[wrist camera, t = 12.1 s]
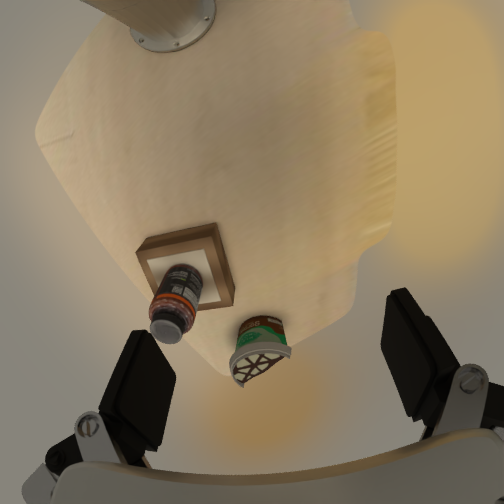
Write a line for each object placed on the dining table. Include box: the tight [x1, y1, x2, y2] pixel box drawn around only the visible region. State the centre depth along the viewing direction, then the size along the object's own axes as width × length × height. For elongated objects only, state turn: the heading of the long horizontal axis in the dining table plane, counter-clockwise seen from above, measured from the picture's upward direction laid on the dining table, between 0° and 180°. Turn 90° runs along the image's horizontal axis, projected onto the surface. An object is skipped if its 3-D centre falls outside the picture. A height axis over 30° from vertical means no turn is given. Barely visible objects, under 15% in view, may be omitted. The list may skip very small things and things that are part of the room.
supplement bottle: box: [149, 265, 203, 344], centre depth 35 cm, size 6×6×11 cm
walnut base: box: [135, 223, 235, 311], centre depth 42 cm, size 12×12×5 cm
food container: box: [229, 316, 291, 387], centre depth 46 cm, size 12×6×10 cm, turn 138°
